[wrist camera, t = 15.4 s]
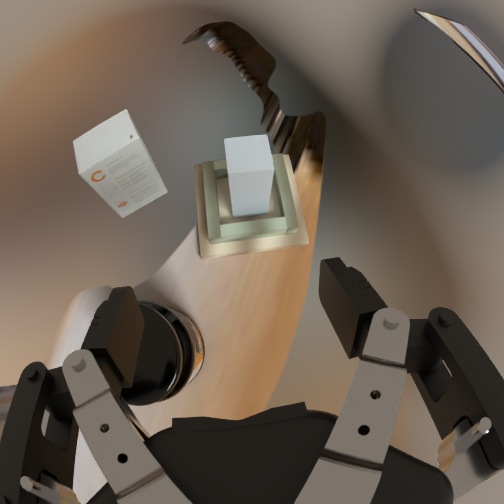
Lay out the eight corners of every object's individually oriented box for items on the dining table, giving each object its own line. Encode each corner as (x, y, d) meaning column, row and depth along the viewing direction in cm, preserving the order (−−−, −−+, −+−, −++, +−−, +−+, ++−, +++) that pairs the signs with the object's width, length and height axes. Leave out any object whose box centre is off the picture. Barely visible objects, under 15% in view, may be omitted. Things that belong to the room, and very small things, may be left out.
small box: (154, 163, 40) (127, 107, 28) (169, 192, 39) (141, 137, 26) (110, 188, 39) (71, 140, 26) (122, 219, 37) (78, 175, 25)
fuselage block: (233, 218, 36) (228, 173, 26) (229, 188, 38) (224, 138, 27) (267, 214, 37) (274, 169, 26) (262, 184, 38) (266, 134, 27)
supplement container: (213, 384, 32) (196, 409, 20) (136, 389, 31) (91, 409, 19) (199, 302, 34) (176, 288, 23) (124, 312, 34) (75, 301, 22)
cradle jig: (202, 259, 36) (197, 251, 33) (195, 168, 40) (191, 155, 36) (307, 245, 37) (313, 236, 33) (287, 158, 40) (290, 144, 37)
